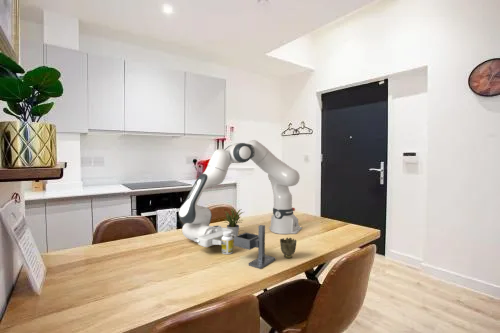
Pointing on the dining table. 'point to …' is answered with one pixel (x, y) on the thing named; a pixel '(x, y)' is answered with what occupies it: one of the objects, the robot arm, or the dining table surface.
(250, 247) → the cup bracket
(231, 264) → the dining table surface
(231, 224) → the house plant
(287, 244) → the cup
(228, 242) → the supplement bottle
